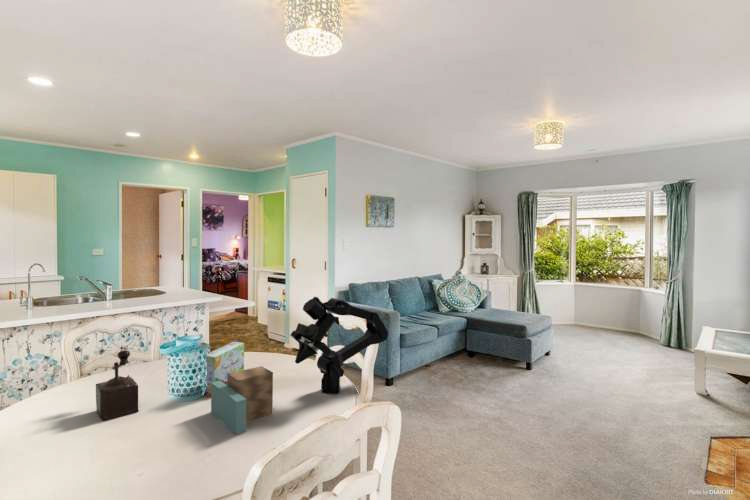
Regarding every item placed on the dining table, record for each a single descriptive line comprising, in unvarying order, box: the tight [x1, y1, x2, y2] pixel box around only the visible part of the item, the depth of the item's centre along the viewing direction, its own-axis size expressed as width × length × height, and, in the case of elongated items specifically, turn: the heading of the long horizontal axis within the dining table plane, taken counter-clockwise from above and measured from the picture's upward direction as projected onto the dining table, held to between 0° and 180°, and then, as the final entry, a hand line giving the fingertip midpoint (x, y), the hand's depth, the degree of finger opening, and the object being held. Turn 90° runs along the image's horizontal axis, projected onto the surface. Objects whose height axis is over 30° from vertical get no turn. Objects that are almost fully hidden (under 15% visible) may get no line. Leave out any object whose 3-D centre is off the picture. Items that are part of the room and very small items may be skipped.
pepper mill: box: [95, 349, 140, 422], centre depth 137 cm, size 16×11×18 cm
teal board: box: [210, 381, 247, 436], centre depth 129 cm, size 3×20×10 cm, turn 42°
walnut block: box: [227, 365, 274, 423], centre depth 134 cm, size 12×8×14 cm, turn 132°
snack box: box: [203, 341, 245, 398], centre depth 158 cm, size 21×6×15 cm, turn 168°
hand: (296, 362), depth 146 cm, fingers closed
